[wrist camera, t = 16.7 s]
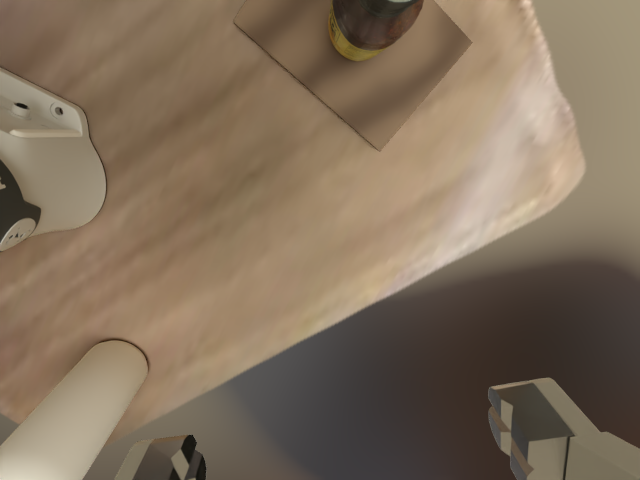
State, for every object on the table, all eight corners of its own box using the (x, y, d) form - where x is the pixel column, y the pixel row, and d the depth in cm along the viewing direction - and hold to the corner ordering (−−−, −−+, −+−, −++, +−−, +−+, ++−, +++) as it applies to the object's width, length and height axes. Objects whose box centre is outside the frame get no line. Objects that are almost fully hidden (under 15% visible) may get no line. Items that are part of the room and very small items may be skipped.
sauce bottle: (344, -22, 32) (384, -193, 14) (400, 11, 33) (507, -109, 15) (315, 48, 35) (317, -20, 16) (369, 77, 36) (429, 44, 17)
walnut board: (236, 24, 35) (232, 21, 34) (321, -112, 31) (321, -122, 30) (377, 149, 40) (379, 151, 38) (466, 45, 36) (472, 42, 35)
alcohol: (102, 387, 52) (-141, 708, 24) (80, 341, 49) (-229, 649, 21) (158, 380, 52) (-24, 698, 24) (139, 333, 49) (-96, 637, 21)
